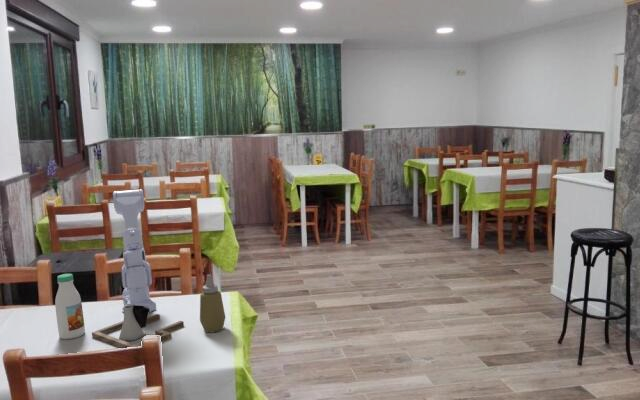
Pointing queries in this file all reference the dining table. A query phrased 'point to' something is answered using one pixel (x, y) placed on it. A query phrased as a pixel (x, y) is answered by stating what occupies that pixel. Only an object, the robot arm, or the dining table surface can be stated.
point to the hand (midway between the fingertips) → (141, 327)
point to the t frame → (123, 344)
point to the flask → (130, 325)
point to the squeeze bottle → (211, 307)
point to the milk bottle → (68, 309)
